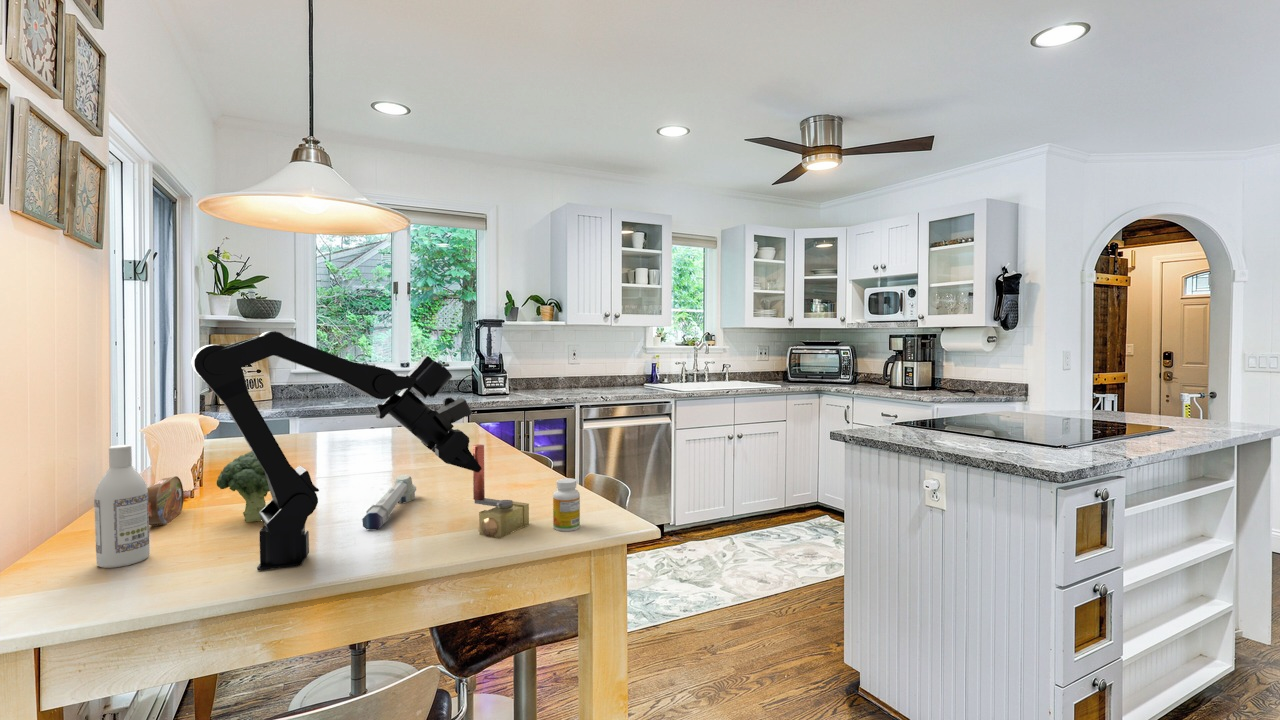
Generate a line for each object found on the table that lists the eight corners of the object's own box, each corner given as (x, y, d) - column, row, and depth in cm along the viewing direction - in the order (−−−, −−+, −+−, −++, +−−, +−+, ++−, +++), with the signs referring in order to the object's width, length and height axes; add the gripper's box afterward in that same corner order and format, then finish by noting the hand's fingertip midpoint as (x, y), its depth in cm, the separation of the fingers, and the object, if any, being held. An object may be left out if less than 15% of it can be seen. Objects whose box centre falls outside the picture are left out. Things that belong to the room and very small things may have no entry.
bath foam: (159, 553, 106) (156, 442, 105) (130, 568, 99) (126, 449, 98) (117, 554, 105) (114, 442, 105) (85, 569, 99) (81, 450, 98)
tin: (160, 529, 119) (158, 488, 119) (140, 531, 118) (139, 489, 118) (185, 509, 133) (184, 472, 133) (168, 511, 132) (167, 473, 132)
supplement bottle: (554, 523, 123) (554, 477, 123) (580, 523, 124) (580, 477, 123) (552, 532, 118) (552, 483, 118) (579, 531, 118) (579, 483, 118)
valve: (499, 538, 114) (499, 516, 114) (477, 535, 116) (477, 512, 116) (530, 524, 123) (530, 503, 123) (509, 520, 125) (509, 500, 125)
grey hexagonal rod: (357, 512, 118) (395, 468, 143) (360, 543, 120) (396, 494, 144) (384, 511, 119) (417, 467, 144) (387, 542, 120) (419, 493, 145)
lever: (516, 505, 120) (515, 447, 120) (506, 509, 117) (505, 450, 117) (480, 500, 124) (479, 443, 124) (469, 504, 121) (469, 446, 121)
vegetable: (286, 524, 123) (284, 452, 122) (211, 533, 117) (209, 457, 117) (292, 509, 134) (290, 443, 133) (223, 516, 128) (222, 447, 127)
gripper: (456, 389, 110) (515, 442, 116) (436, 382, 126) (488, 429, 132) (412, 435, 106) (475, 488, 112) (397, 422, 122) (452, 468, 128)
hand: (474, 465), depth 121 cm, fingers open, 9 cm apart
